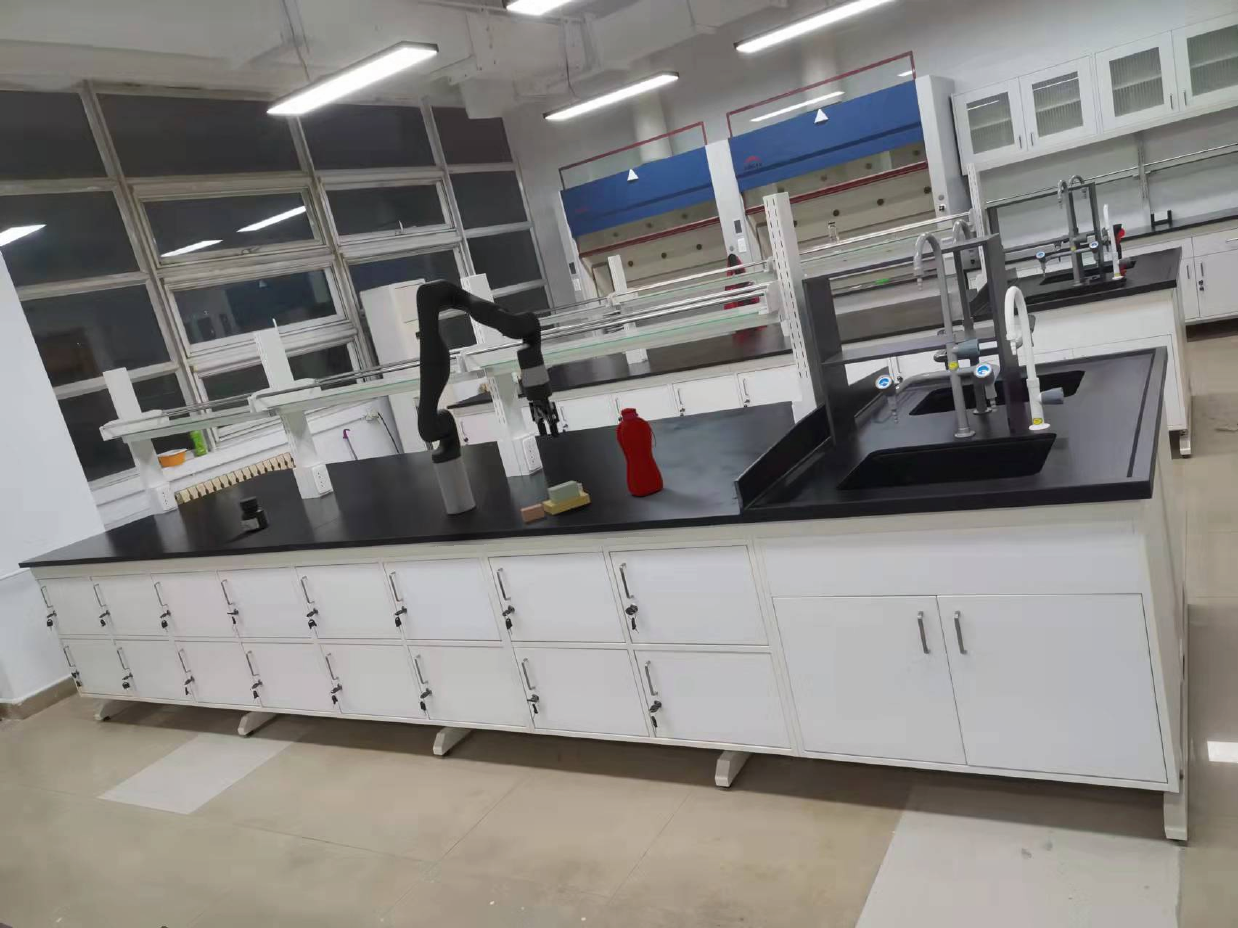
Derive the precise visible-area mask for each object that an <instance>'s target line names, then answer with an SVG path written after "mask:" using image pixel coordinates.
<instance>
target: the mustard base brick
mask: <svg viewBox="0 0 1238 928" xmlns="http://www.w3.org/2000/svg"><path fill="white" fill-rule="evenodd" d="M579 492H580V495H579V496H576V497H573V498H570V499H567V500H565V501H562V502H559V503H553V502H551V501H550V499H548V500H546V501H542V503H541V504H542V507H543V511H545V512H547V513H548V514H551V515H553V516H554V515H556V514H560V513H562V512H565V511H568V510H572V509H574V508H578V507H581V506H583V505H587V504H589V503H591V498H590V495H589V494H588V493H587V492H584V491H583V492H582V491H580V490H579ZM571 508H572V509H571Z"/></svg>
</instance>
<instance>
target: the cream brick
mask: <svg viewBox="0 0 1238 928" xmlns="http://www.w3.org/2000/svg"><path fill="white" fill-rule="evenodd" d="M577 484H578V488H579V490H580V491H582V492H584V489H583V484H582V483H579V482H577Z"/></svg>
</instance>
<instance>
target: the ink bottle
mask: <svg viewBox="0 0 1238 928" xmlns="http://www.w3.org/2000/svg"><path fill="white" fill-rule="evenodd" d="M238 506H239V508H240V511H241V515H240V521H241V524H242V527H243V530H244V532H245V533H247V532H249V533H254V531H255V532H258V531H261V530H263V529H262V528H264V529H266V528H268V527H269V526H270V523H269V522H270V521H269V519H268V516H267V512H266V510H265V509H264V508H263V507H261V504H260V502H259V498H258V496H257V495H256V496H249V497H246V498H242V499H241V500H239V501H238ZM268 525H269V526H268ZM267 526H268V527H267ZM265 527H266V528H265ZM257 530H258V531H257Z"/></svg>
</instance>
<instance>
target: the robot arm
mask: <svg viewBox="0 0 1238 928" xmlns="http://www.w3.org/2000/svg"><path fill="white" fill-rule="evenodd" d="M415 300H416V301H415V303H416V313H417V319H418V320H417V321H418V332H419V335H418V336H419V402H418V411H417V422H416V423H417V430H418V431H417V432H418V434H419V437H420V439H421V440H422V441H424V442H425V443H429V444H430V443H435V442H438V441H439V444H438V446H437V448H436V449H435V450H434V451H433V452H432V454H431V460H432V463H433V467H434V470H435V474H436V476H437V480H438V485H439V488H440V490H441V495H442V498H443V502H444V505H445V510H446V512H447V514H448V515H456V514H460V513H463V512H467V511H470V510H472V509H474V508H475V506H476V503H475V500H474V497H473V493H472V488H471V485H470V483H469V482H470V481H469V477H468V474H467V471H466V468H465V467H466V466H465V463H464V460H463V456H462V453H461V448H462V446H461V445H462V444H461V441H460V437H459V435H460V434H459V430H458V426H457V421H456V420H455V417H454V416H453V415H454V414H452V413H451V411H450V410H449V409H446V408H439V409H438V407H439V401H440V399H441V396H442V394H443V392H444V391H445V387H446V386H447V383H448V381H449V379H450V376H451V353H450V349H449V347H448V345H447V343H446V342H445V340H444V338H443V336H442V335H441V331H440V324H439V321H440V319H439V318H440V313H442V312H446V311H449V310H458V311H462V312H464V313H466V314H468V315H469V316H470V318H471V319H472V320H474V321H475V322H477V323H478V324H480V325H483V326H485V327H489V328H491V329H494V330H496V331H498V332H499V333H500V334H502V336H503V335H504V336H505V337H506V338H509V339H512V340H519V341H520V340H522V342H521V344H522V345H521V346H520V348H518V350H516V357H517V361H518V365H519V368H520V375H521V376H520V378H521V380H522V384H523V389H524V392H525V396H526V400H527V401H528V406H529V407H528V408H529V410H530V415H531V420H532V422H533V423H535V424H536V425H537V429H538V434H539V437H544V436H547V435H548V430H547V427H546V423H547V424H548V428H549V432H550V436H551V439H557V438H559V437H560V432H559V427H558V423H560V416H559V414H558V409H557V406H556V402H555V401H550V399H549V398H550V397H552V396H553V390H552V385H551V382H550V377H549V373H548V369H547V368H546V364H545V361H544V357H543V353H542V328H541V327H542V325H541V323H540V319H539V318H538V316H537V315H536V314H535V313H534V312H532V311H530V310H527V311H522V312H519V313H516V314H515V313H511V311H510V309H509V308H508V307H506V306H504V305H502V304H498V303H496V302H493V301H491V300H487V299H484V298H481V297H479V296H477V295H475V294H473V293H471V292H470V291H468V290H466V289H463V288H462V287H461V286H459V285H456V284H455V283H453V282H451V281H449V280H447V279H436V280H432V281H428V282H424V283H422V284H420V285H419V286H418V288H417V291H416V295H415ZM545 421H546V422H545Z"/></svg>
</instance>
